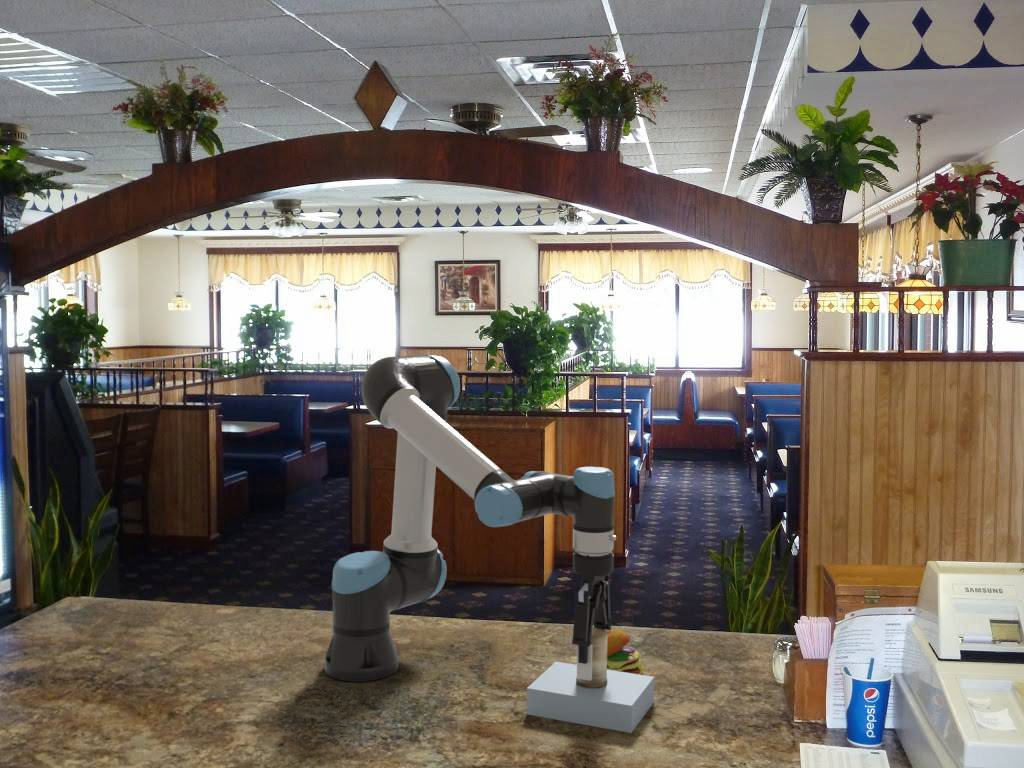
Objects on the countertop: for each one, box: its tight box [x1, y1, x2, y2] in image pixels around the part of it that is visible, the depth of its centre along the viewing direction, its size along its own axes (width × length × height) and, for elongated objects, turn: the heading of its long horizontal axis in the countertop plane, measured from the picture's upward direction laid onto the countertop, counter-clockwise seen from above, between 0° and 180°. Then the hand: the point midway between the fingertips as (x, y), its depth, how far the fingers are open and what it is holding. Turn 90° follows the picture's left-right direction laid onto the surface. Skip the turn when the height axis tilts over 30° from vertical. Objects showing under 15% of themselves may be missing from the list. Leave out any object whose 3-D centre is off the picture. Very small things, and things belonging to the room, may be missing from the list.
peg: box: [576, 627, 608, 689], centre depth 188 cm, size 6×6×14 cm
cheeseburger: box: [607, 628, 645, 675], centre depth 207 cm, size 10×11×10 cm
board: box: [526, 661, 655, 734], centre depth 189 cm, size 20×15×5 cm
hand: (591, 671), depth 189 cm, fingers open, 8 cm apart
